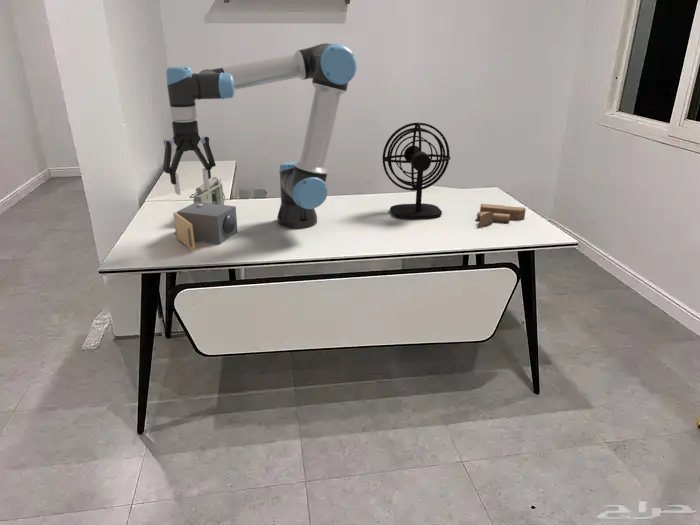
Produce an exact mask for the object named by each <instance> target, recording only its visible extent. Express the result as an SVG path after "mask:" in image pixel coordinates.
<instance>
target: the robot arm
mask: <svg viewBox="0 0 700 525" xmlns="http://www.w3.org/2000/svg"><path fill="white" fill-rule="evenodd" d="M357 64H358V63H357V60H356V57H355V55H354V53H353V52H352V50H351V49H350V48H349V47H347V46H345V45H343V44H339V43H326V42H325V43H319V44H316V45H314V46H310V47H306V48H303V49H299V50H296V51H295V52H294V54H289V55H283V56H279V57H272V58H267V59H261V60H257V61H250V62H245V63H240V64H232V65H229V66H223V67H217V68H214V69H213V68H212V69H209V68H207V69H206V68H205V69H203V70H200V71H199V72H198V73H194V72H193V69H192V67H190V66H170V67H168V68H166V72H165V74H166V85H167V86H166V87H167V93H168V94H167V95H168V101H169V108H170V116H171V119H172V122H171V126H172V132H173V136H172V139H169V140H166V139H164V140H163V144H164V155H163V156H164V158H163V167H162V171H163V172H164V173H166V174H169V177H170V183H171V184H172V185H174V186H173V187H174V192H175V194H176V195H178V196H179V195H180V196H181V187H180V180H179V174H178V173H177V171H178V170H177V169H178V168H179V164H180V161H181V158H182V156H183V154H184V152H188V151H192V152H194V153H195V155H196V156H197V158H198V159H199V160H198V161H200V163H201V164H202V166H203V167H204V168H201V169H202V170H201V171H202V172H201V173H202V178H203V179H202V181H203V184H204V188H205V189H206V190H210V188H209V181H210V180H212V175H211V170H212V168H213V167H216V162H215V158H214V155H213V152H212V148H211V146H210V137H208V136H207V135H203V136H200V134H199V126H198V124H199V123H198V121H197V119H198V116H197V115H198V114H197V108H196V107H197V105H196V100H198V101H199V100H225V99H231V98H232V99H233V97H234V96H235V91H236V90H239V89H247V88H250V87H256V86H261V85H266V84H273V83H276V82H282V81H288V80H292V79H296V78H299V79H301V81H302V80H303V81H304V80H309V79H312V80H311V84H312V86H313V88H314V93H313V99H312V104H311V108H310V114H309V117H308V121H307V122H308V123H307V126H306V132H305V137H304V141H303V146H302V150H301V151H302V152H301V154H300V160H298V161H287V162H282V163H281V164H280V165H279V171H278V173H279V182H280V183H279V184H280V185H279V188H280V206H279V208H278V214H277V218H276V220H277V225H279V226H280V227H282V228H286V229H304V228H310V227H312V226H315V225H316V224H317V223H318V215H317V212H316V210H315V209H317V208H318V207H320V206H322V204H323V203H325V201H326V199H327V197H328V194H329V193H328V192H329V191H328V187H327V184H326V182H327V181H326V180H327V177H328V170H327V168H326V161H327V158H328V157H327V156H328V153H329V148H330V144H331V141H332V140H331V139H332V135H333V131H334V126H335V121H336V117H337V113H338V109H339V104H340V99H341V97H342V95H344V94H345V93H346V92H347V91H348V90H347V89H348V86H349V82H350V81H352V80H353V78H354V77H355V75H356V73H357V66H358V65H357ZM199 143H201V144H202V146H203V150H204V153H205V155H206V157H205V156H204V154H203V153H202V150H201V148H200V147H199V146H198V145H199ZM174 145H175V146H176V149H175V153H174V156H173V158H172V151H173V150H172V149H173V146H174ZM206 158H207V159H206ZM171 160H172V162H171Z"/></svg>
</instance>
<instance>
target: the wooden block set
mask: <svg viewBox="0 0 700 525" xmlns="http://www.w3.org/2000/svg"><path fill="white" fill-rule="evenodd" d="M526 210H527V209H526V208H525V207H521V206H509V205H508V206H507V205H501V204H490V203H481V204H480V208H479V211H478V212H477V215H476V220H477V221H479V224H478V226H479V227H478V228H481V227H482V228H483V227H486V226H489V225H493V222H495V223H496V222H497V223H510V220H517V221H518V220H519V221H520V220H524V219H525V218H526Z"/></svg>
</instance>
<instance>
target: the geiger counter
mask: <svg viewBox="0 0 700 525" xmlns="http://www.w3.org/2000/svg"><path fill="white" fill-rule="evenodd" d="M221 182H222V178H221V177H220V176H219V175H215V176H213V177H211V179H209V188H210V190H206V189H205V188H204V183H203V184H202V185H199V186H197V187H196V189H195V193H192V194H191V195H189V199H193V203H195V202H202V203H210V204H219V205H225V202H226V196H225V193H224V188H223V183H221Z"/></svg>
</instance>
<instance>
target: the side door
mask: <svg viewBox="0 0 700 525" xmlns="http://www.w3.org/2000/svg"><path fill="white" fill-rule="evenodd" d="M173 219H174V220H173V221H174V226H175V227H174V228H175V235H176V239H178V240H179V241H180V243H182V244H184V245H185V246H187V247H188V249H190V250H191V251H192V252H195V251H196V244H195V241H194V234H193V226H192V224H191V223H190V222H189V221H187V220H186V219H184V218H183V217H182V216H180V215H179V214H177V211H176V212H173Z"/></svg>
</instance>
